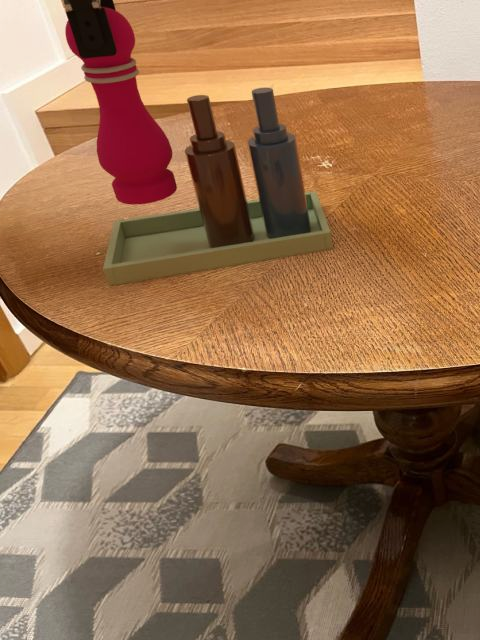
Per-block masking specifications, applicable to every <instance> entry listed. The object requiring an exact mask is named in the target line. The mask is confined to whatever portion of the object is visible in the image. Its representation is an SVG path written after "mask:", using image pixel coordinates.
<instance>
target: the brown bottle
mask: <svg viewBox="0 0 480 640" xmlns="http://www.w3.org/2000/svg"><path fill="white" fill-rule="evenodd" d="M186 103H187V106H188V110H189V115H190V118H191V122H192V126H193V130H194V134H193V135H191V136H190V137H189V142H190V145H188V146H187V147H186V148H185V149H184V156H185V159H186V162H187V167H188V171H189V174H190V178H191V183H192V186H193V191H194V192H195V193H194V194H195V198H196V202H197V206H198V208H199V209H200V213H201V217H202V221H203V225H204V229H205V233H206V236H207V240H208V244H209V246H210V247H211V248H217V247H223V246H229V245H236V244H242V243H248V242H253V241H254V239H255V235H254V231H253V226H252V221H251V217H250V212H249V208H248V203H247V201H248V199H247V195H246V189H245V185H244V180H243V176H242V171H241V167H240V162H239V158H238V152H237V149H236V148H237V147H236V144H235V142H234V141H231V140H228V139H226V135H225V133H224V132H223V131H219V130H217V126H216V122H215V117H214V113H213V109H212V104H211V99H210V96H209V95H208V94H207V95H206V94H196V95H192V96H189V97H187V99H186Z"/></svg>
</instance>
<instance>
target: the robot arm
mask: <svg viewBox="0 0 480 640" xmlns="http://www.w3.org/2000/svg"><path fill="white" fill-rule="evenodd" d="M62 1H63V5H64V7H65V14H66V18H67V21H68V20H69V24H70V27H71V30H72V33H73V36H74V39H75V42H76V46H77V49H78V52H79V55H80V56H81V57H82V58H85V59H86V58H96V57H105V56H114V55H116V53H117V48H116V45H115V41H114V38H113V34H112V31H111V28H110V24H109V21H108V17H107V14H106V10H105V7H106V8H110V9H113V10H115V11H117V9H116V6H115V1H114V0H100V2H99V0H62ZM101 7H104V8H101Z"/></svg>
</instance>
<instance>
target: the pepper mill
mask: <svg viewBox="0 0 480 640" xmlns="http://www.w3.org/2000/svg"><path fill="white" fill-rule="evenodd" d="M99 2H100V0H99ZM101 8H104V7H101ZM105 10H106V14H107V17H108V21H109V24H110V28H111V31H112V34H113V38H114V41H115V45H116V48H117V53H116V55H114V56H105V57H96V58H86V59H85V58H82V57H81V56H80V55H79V52H78V49H77V46H76V42H75V39H74V36H73V33H72V30H71V27H70V24H69V20H68V19H67V21H66V24H65V27H64V28H65V30H64V31H65V32H64V33H65V39H66V43H67V45H68V48H69V50H70V51H71V52H72V54H73V55H75V56H76V57H77V58H79V59H80V60H81V61H82V62H83V64H82V65H81V68H80V69H81V71H82V72H83V74H84V78H83V79H84V80H85V82H87V83H90V84H91V87H92V89H93V91H94V93H95V96H96V100H97V103H98V109H99V122H98V123H99V124H98V131H97V137H96V155H97V159H98V163H99V164H100V167H101V168H102V169H103V170H104V171H105V172H106V173H107V174H108V175H111V176H112V177H113V178H114V179H113V180H112V182H111V187H112V189H113V193H114V196H115V198H116V200H117V201H118V202H119V203H122V204H125V205H132V206H133V205H136V206H137V205H146V204H151V203H156V202H160V201H162V200H165V199H167V198H170V197H171V196H173V195H174V194H175V193H176V191H177V190H178V185H177V182H176V178H175V177H176V176H175V174H174V172H173V171H172V170H171V169H169V165H170V163H171V161H172V159H173V149H172V146H171V143H170V141H169V138H168V136H167V135H166V133H165V132H164V130H163V129H162V127H161V126H160V125H159V123H158V122H157V121H156V120H155V119H154V118H153V116H152V115H151V114H150V112H149V111H148V110H147V108H146V106H145V104H144V102H143V100H142V97H141V94H140V91H139V88H138V82H137V76H138V75H139V74H140V70H139V68H137V60H136V59H135V58H134V57H132V53H133V50H134V48H135V46H136V37H135V33H134V29H133V27H132V25H131V24H130V21H129V20H128V18H126V17H125V16H124V15H123V14H122V13H120V12H119V11H117V10H116V11H115V10H113V9H110V8H106V7H105Z"/></svg>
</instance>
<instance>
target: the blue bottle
mask: <svg viewBox="0 0 480 640" xmlns="http://www.w3.org/2000/svg"><path fill="white" fill-rule="evenodd" d="M251 96H252V101H253V106H254V110H255V112H254V113H255V116H256V122H257V125H256V126H255V127H254V128H252V137H249V139H247V141H246V145H247V150H248V154H249V159H250V164H251V169H252V175H253V178H254V182H255V183H254V184H255V187H256V192H257V197H258V199H259V203H260V207H261V212H262V217H263V222H264V227H265V231H266V236H267V237H268V238H269V239H273V238H279V237H285V236H292V235H298V234H304V233H310V231H311V225H310V219H309V213H308V207H307V201H306V195H305V192H306V189H305V184H304V178H303V172H302V166H301V161H300V154H299V148H298V143H297V137H296V135H295V134H294V133H292V132H289V131H288V129H287V125H286V124H284V123H280V121H279V116H278V109H277V104H276V99H275V94H274V89H273V88H272V87H257V88H254V89H252V90H251Z"/></svg>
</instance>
